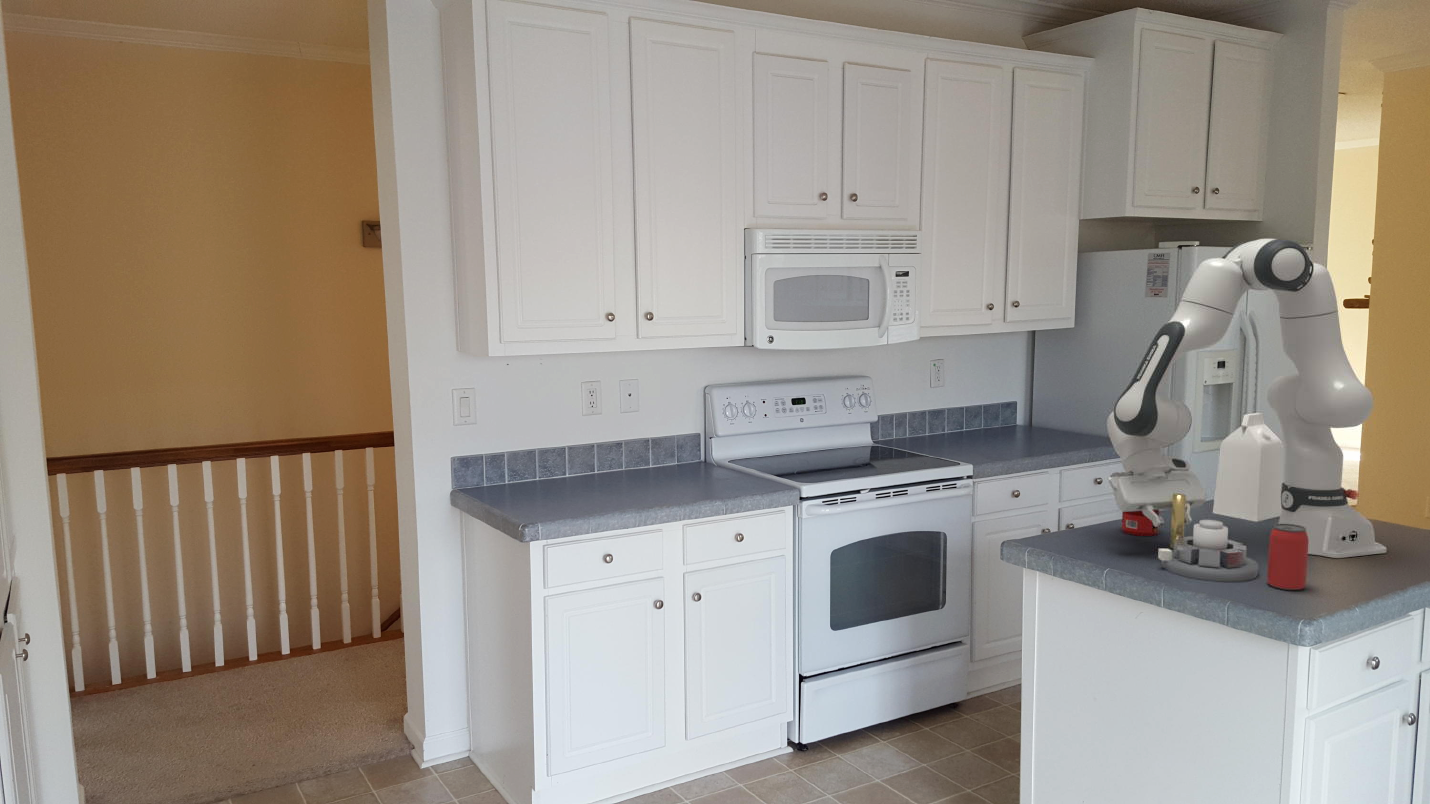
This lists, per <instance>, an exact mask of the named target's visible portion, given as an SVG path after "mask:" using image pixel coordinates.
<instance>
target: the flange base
mask: <svg viewBox="0 0 1430 804" xmlns="http://www.w3.org/2000/svg"><path fill="white" fill-rule="evenodd" d="M1228 535H1229V528H1228V527H1227V526H1226V525H1224V523H1223V522H1222V521H1219V520H1215V519H1201V520H1199V523H1195V524H1193V533H1192V536H1193V546H1194V547H1198V548H1202V549H1212V550H1226V549H1227V539H1228ZM1157 552H1158V554H1157V555H1158V556H1157V558H1158V559H1159V560H1161V567H1162V568H1163V569H1164V570H1166V571H1168V572H1170V573H1173V574H1175V575H1178V576H1181V577H1185V578H1190V579H1195V580H1200V581H1201V580H1202V581H1207V582H1208V581H1209V582H1222V583H1235V582H1245V581H1251V580H1254V579H1256V578H1257V576H1258V573H1259V564H1258V562H1257V561H1255V560H1254V559H1251V558H1249V557H1247V556H1246V564H1243V565H1242V566H1238V567H1230V568H1227V567H1224V566H1221V565H1220V566H1219V568H1218V567H1208V566H1199V563H1193V564H1190V563H1187V562H1184V561H1181V560H1178V559H1177V557H1174V549H1173V548H1172V549H1170V548H1158V551H1157Z"/></svg>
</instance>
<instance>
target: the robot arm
mask: <svg viewBox="0 0 1430 804" xmlns="http://www.w3.org/2000/svg"><path fill="white" fill-rule="evenodd" d="M1333 283H1334V282H1333V280H1332V277H1331V274H1330V272H1329V270H1328V269H1327V267H1326V266H1324V265H1323V264H1320V263H1316V262H1312V260H1311V259H1310V257H1309V255H1308V253H1307V251H1306V250H1305V249H1304V247H1303V246H1302V245H1300V244H1299V243H1297V242H1295V241H1293V240H1290V239H1286V238H1259V239H1256V240H1246V241H1242V242H1240V243H1237V244H1236V245H1234V246H1233V247H1232V248H1230V249H1229V250H1228V251H1227V252H1226V253H1225V254H1224V255H1223V256H1222V257H1214V258H1212V257H1211V258H1208V259H1205V260H1204V261H1201V263H1200V264H1199V265H1198V266H1197V268H1196V270H1195V271H1194V273H1193V274H1192V276H1191V278H1190V280H1189V281H1188V283H1187V286H1186V288H1185V290H1184V292H1183V295H1182V296H1181V299H1180V302H1179V305H1178V306H1177V308H1176V310H1175V312H1174V314H1173V315H1172V317H1171V318H1170V320H1169V321H1168V322H1167V323H1165V324H1164V325H1162V326H1161V328H1160V329H1159V330H1158V331H1157V333H1156V334H1155V336H1154V338H1153V339H1152V341H1151V343H1150V344H1149V347H1148V348H1147V350H1146V352H1145V354H1144V356H1143V358H1142V360H1141V362H1140V364H1139V366H1138V368H1137V369H1136V371H1135V373H1134V375H1133V377H1132V379H1131V381H1130V382H1129V383H1128V385H1127V387H1126V388H1125V389H1124V390H1123V392H1122V393H1121V394H1120V396H1119V397H1118V398H1117V400H1116V402H1115V404H1114V407H1113V411H1112V412H1111V413H1110V414H1109V415H1108V417H1107V421H1106V428H1107V433H1108V436H1109V439H1110V442H1111V444H1112V446H1113V449H1114V451H1115V452H1116V455H1118V456H1119V457H1120V459H1121V464H1122V468H1123V470H1124V471H1122V472H1118V471H1117V472H1116V471H1115V472H1113V473H1112V474H1111V475H1109V476H1108V482H1109V485H1110V487H1111V488H1112V492H1113V496H1114V500H1115V503H1116V505H1117V508H1118V509H1119V510H1120V511H1122V513H1123V512H1129V511H1142V512H1143V514H1144V515H1145V516H1146V517H1147V518H1149V519H1150V520H1152V522H1153V524H1154V526H1155V527H1158V528H1159V527H1162V526H1163V525H1164V524H1165V521H1164V519H1163V516H1162V515H1159V516H1158V515H1157V514H1156V513H1155V512H1154V511H1153V510H1159V511H1161V510H1172V500H1173V494H1185V495H1186V506H1185V526H1186V525H1187V526H1189V525H1191V523H1192V522H1193V520H1192V516H1191V515H1190V512H1191V509H1194V508H1199V507H1201V506H1202V505H1203V504H1204V503H1205V501H1207V497H1208V495H1207V492H1206V490H1205V488H1204V486H1203V484H1202V483H1201V480H1199V478H1198V477H1197V475H1196V474H1195V472H1193V471H1190V469H1191V464H1190V462H1189V461H1187V460H1184V459H1180V458H1177V457H1172V456H1170V455H1167V454H1164V453H1163V452H1162V449H1163V448H1167V447H1169V446H1171V445H1172V446H1173V444H1175V443H1177V442H1179V441H1181V440H1182V439H1184V438H1185V437H1187V435H1188V433H1189V432H1190V430H1191V427H1192V423H1193V422H1192V421H1193V420H1192V418H1193V417H1192V413H1191V410H1190V409H1189V407H1188V406H1187V405H1186V404H1184V403H1182V402H1180V401H1177V400H1174V399H1170V398H1167V397H1163V396H1160V395H1159V392H1160V390H1161V388H1162V387H1163V384H1164V382H1165V381H1166V379H1167V376H1168V375H1169V373H1170V371H1171V369H1172V367H1173V365H1174V363H1175V362H1176V361H1177V360H1178V359H1179V358H1180V357H1181V356H1183V355H1184V354H1186V353H1189V352H1192V351H1196V350H1197V351H1198V350H1204V349H1207V348H1209V347H1212V346H1214V345H1216V344H1217V343H1219V342H1221V341H1222V339H1223V338H1224V336H1225V335H1226V333H1227V332H1228V331H1229V328H1230V326H1231V323H1232V320H1233V318H1234V315H1235V313H1236V309H1237V307H1238V303H1239V302H1240V300H1241V298H1242V297H1243V295H1244V294H1245V293H1246V292H1247V291H1249V290H1254V291H1255V290H1256V291H1268V290H1271V291H1272V292H1273V294H1275V295H1274V296H1276V298H1277V302H1278V311H1279V312H1278V314H1279V322H1280V330H1281V331H1280V332H1281V339H1282V349H1283V352H1284V353H1285V355H1286V357H1287V358H1289V359H1290V360H1291V361H1292V363H1293V364H1294V366H1295V368H1296V370H1297V372H1293V373H1287V374H1286V373H1285V374H1282V375H1280V376H1278V377H1276V378H1275V379H1274V380H1273V381H1272V382H1271V383H1270V385H1269V386H1268V389H1267V394H1266V396H1267V402H1268V405H1269V406H1270V408H1271V409H1272V411H1273V412H1274V414H1275V415H1276V417H1277V420H1278V423H1279V426H1280V429H1281V434H1282V439H1283V443H1284V444H1283V445H1284V453H1285V454H1284V474H1283V483H1282V488H1281V506H1282V508H1281V514H1280V516H1279V518H1278V519H1279V520H1278V523H1277V524H1295V525H1300V526H1303V527H1305V528H1306V533H1307V535H1308V540H1309V542H1308V555H1315V556H1322V557H1328V558H1333V559H1342V558H1343V559H1344V558H1350V557H1352V558H1353V557H1359V556H1369V555H1378V554H1386V553H1387V552H1388V551H1387V547H1386V546H1384V545H1383V544H1381V543H1379V542H1377V541H1375V540H1376V539H1375V537H1376V536H1375V530H1374V529H1375V528H1374V526H1373V524H1372V522H1371V521H1370V520H1369V519H1368V518H1366V517H1365V516H1364V515H1362V513H1360V512H1358V511H1357V510H1356V509H1355V508H1354V507H1352V506H1351V505H1350V504H1349V502H1348V499H1351V500H1357V499H1358V498H1359V496H1360V492H1358V491H1357V490H1355V489H1354V490H1353V489H1350V488H1349V489H1345V488H1344V487H1343V486H1342V483H1343V481H1342V480H1343V471H1344V470H1343V466H1344V453H1343V449H1342V448H1341V447H1340V446H1339V445H1338V443H1337V442H1336V440H1335V438H1334V436H1333V432H1332V429H1344V428H1345V429H1346V428H1353V427H1358V426H1360V425H1362V424H1363V423H1365V422H1366V421H1367V420H1368V419H1369V418H1370V416H1371V414H1372V413H1373V409H1374V397H1373V395H1372V393H1371V391H1370V390H1369V388H1367V387H1366V385H1364V384H1363V383H1362V382H1361V381H1360V380H1359V378H1358V376H1357V375H1356V373H1355V371H1354V369H1353V367H1352V366H1351V363H1350V361H1349V358H1348V356H1347V354H1346V351H1345V348H1344V344H1343V340H1342V332H1341V325H1340V317H1339V309H1338V308H1339V307H1338V300H1337V295H1336V289H1335V287H1334V284H1333ZM1331 428H1332V429H1331Z"/></svg>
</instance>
